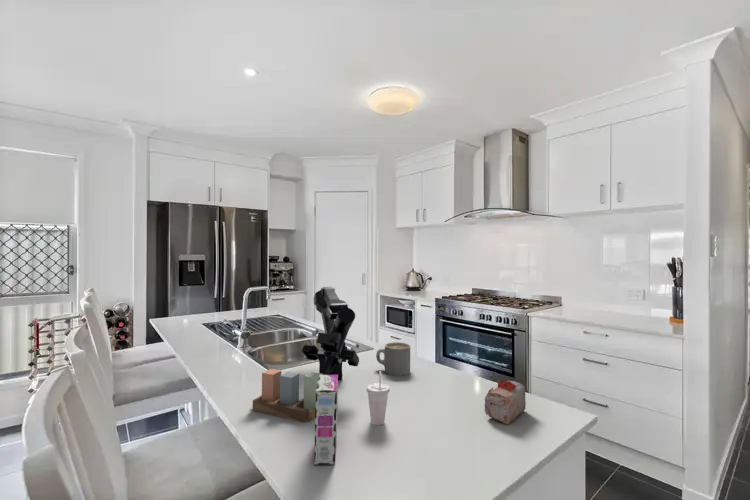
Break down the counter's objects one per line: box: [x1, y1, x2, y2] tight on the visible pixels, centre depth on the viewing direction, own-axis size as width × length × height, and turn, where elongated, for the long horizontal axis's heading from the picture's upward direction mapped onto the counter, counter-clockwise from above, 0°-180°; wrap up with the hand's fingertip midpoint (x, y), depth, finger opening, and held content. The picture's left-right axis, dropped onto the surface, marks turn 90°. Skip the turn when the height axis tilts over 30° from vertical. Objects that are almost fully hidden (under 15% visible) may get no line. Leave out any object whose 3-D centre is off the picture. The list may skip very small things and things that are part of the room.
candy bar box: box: [313, 375, 339, 466], centre depth 85 cm, size 11×5×16 cm, turn 5°
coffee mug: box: [375, 341, 411, 377], centre depth 142 cm, size 13×10×10 cm
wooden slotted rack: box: [252, 394, 315, 423], centre depth 107 cm, size 10×20×3 cm, turn 68°
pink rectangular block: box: [261, 368, 282, 402], centre depth 109 cm, size 4×4×10 cm
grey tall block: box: [280, 371, 300, 406], centre depth 107 cm, size 4×4×10 cm
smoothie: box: [366, 370, 390, 426], centre depth 99 cm, size 6×6×14 cm
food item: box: [484, 379, 527, 425], centre depth 104 cm, size 14×8×10 cm, turn 138°
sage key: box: [303, 371, 323, 412], centre depth 107 cm, size 4×4×10 cm
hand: (320, 379), depth 111 cm, fingers closed
